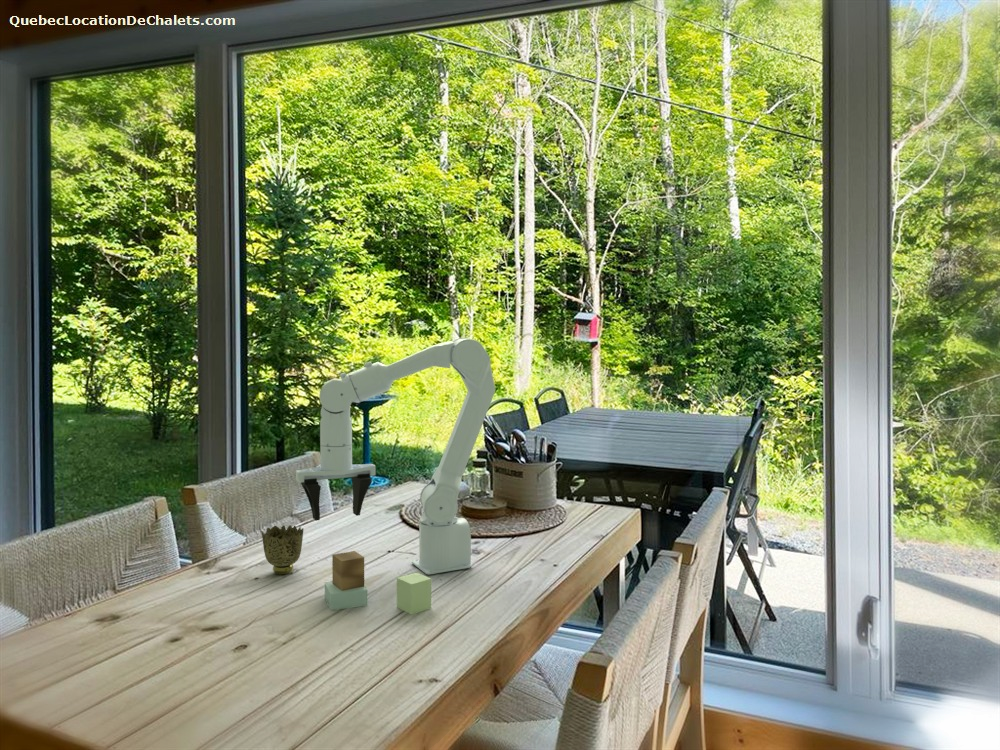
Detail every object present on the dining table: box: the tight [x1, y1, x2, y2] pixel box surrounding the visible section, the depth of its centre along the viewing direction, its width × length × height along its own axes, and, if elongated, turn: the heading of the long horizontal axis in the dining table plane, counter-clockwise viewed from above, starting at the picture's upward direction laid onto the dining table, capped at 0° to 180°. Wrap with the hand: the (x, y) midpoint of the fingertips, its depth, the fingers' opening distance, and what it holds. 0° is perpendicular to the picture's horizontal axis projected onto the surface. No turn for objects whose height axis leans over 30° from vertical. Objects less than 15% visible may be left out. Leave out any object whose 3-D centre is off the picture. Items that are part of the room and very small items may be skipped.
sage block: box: [396, 572, 432, 615], centre depth 125 cm, size 4×4×5 cm
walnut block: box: [331, 550, 365, 591], centre depth 128 cm, size 4×4×5 cm
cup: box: [261, 524, 304, 575], centre depth 141 cm, size 8×7×8 cm
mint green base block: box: [324, 580, 368, 611], centre depth 128 cm, size 6×6×3 cm
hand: (336, 516), depth 142 cm, fingers open, 7 cm apart
